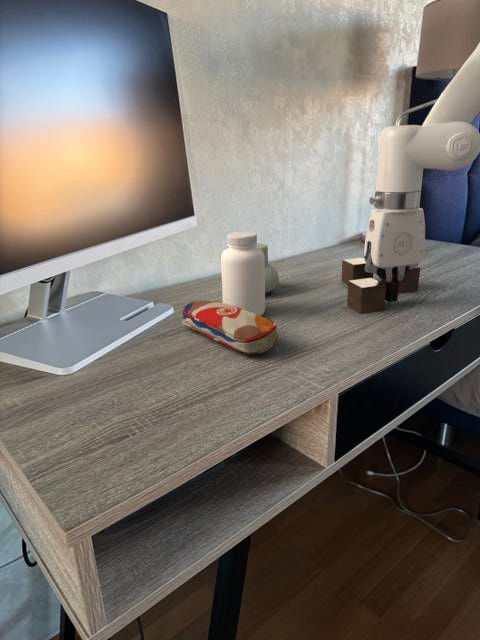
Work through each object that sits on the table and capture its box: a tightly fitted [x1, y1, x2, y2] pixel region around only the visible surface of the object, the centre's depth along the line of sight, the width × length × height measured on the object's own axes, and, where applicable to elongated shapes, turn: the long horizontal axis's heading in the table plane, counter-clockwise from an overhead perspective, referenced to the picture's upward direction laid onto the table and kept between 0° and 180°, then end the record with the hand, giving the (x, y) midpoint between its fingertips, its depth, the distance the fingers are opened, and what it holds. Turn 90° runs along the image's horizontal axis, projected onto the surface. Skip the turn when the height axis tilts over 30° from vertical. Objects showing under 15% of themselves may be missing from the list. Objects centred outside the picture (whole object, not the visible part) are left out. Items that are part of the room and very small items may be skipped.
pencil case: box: [181, 300, 279, 355], centre depth 73 cm, size 11×20×5 cm, turn 25°
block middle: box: [399, 265, 421, 294], centre depth 93 cm, size 5×5×5 cm
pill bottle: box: [220, 231, 266, 316], centre depth 81 cm, size 8×8×15 cm
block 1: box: [340, 257, 374, 285], centre depth 98 cm, size 5×5×5 cm
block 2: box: [346, 277, 386, 315], centre depth 83 cm, size 5×5×5 cm
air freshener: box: [256, 242, 280, 294], centre depth 95 cm, size 11×8×10 cm
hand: (388, 299), depth 85 cm, fingers closed
